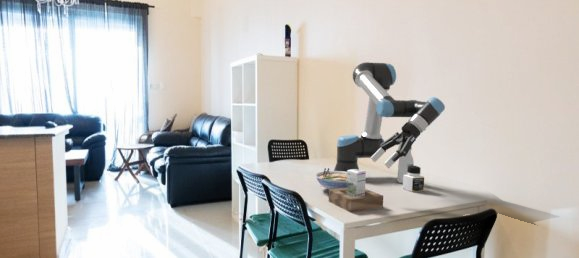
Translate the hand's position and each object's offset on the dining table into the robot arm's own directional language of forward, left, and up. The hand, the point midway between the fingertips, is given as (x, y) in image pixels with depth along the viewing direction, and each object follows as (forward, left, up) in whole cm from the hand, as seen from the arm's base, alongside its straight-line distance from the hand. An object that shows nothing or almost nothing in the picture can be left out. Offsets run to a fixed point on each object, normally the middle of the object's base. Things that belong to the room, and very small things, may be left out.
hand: (379, 163), depth 150 cm
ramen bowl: (-25, -4, -18) cm, 31 cm away
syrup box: (-3, -9, -18) cm, 20 cm away
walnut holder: (-3, -10, -17) cm, 20 cm away
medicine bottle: (-13, +32, -18) cm, 39 cm away
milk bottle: (-26, +40, -18) cm, 51 cm away
